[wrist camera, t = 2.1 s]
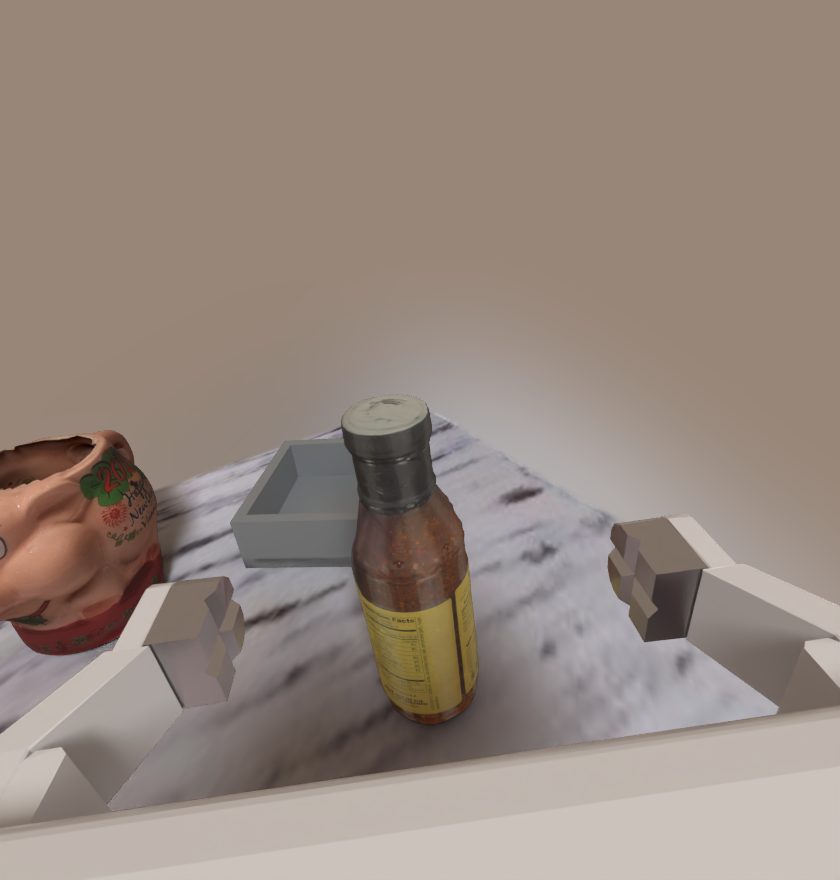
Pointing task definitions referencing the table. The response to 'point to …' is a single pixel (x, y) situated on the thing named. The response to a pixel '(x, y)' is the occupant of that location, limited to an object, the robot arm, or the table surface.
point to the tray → (301, 508)
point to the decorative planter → (75, 540)
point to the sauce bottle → (410, 562)
